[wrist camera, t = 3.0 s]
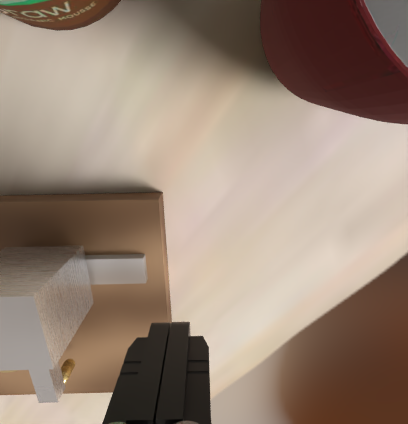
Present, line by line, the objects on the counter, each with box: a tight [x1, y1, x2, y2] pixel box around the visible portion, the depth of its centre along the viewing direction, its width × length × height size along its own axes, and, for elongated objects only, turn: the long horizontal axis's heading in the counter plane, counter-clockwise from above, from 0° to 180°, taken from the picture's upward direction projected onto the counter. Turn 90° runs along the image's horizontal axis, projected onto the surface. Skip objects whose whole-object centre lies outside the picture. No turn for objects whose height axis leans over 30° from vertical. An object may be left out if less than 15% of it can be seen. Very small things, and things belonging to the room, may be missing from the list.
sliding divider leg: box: [0, 246, 94, 403], centre depth 13 cm, size 8×4×4 cm, turn 1°
